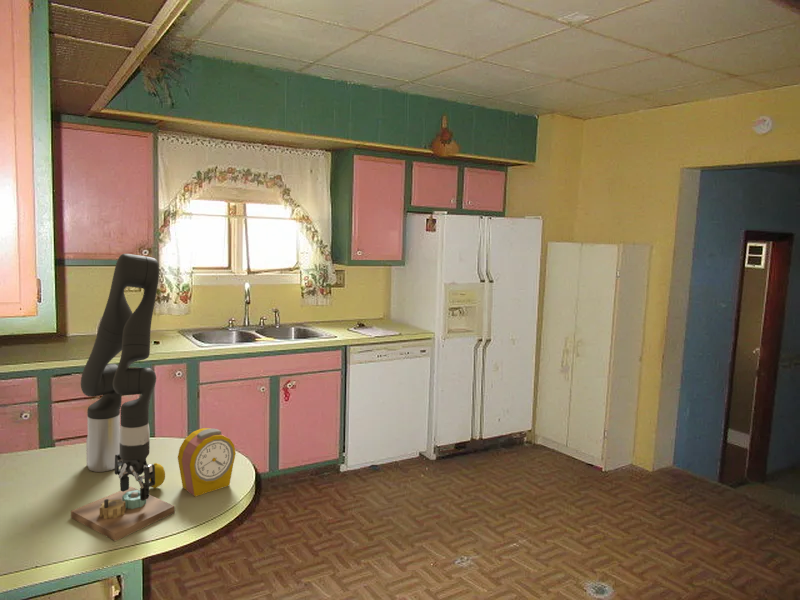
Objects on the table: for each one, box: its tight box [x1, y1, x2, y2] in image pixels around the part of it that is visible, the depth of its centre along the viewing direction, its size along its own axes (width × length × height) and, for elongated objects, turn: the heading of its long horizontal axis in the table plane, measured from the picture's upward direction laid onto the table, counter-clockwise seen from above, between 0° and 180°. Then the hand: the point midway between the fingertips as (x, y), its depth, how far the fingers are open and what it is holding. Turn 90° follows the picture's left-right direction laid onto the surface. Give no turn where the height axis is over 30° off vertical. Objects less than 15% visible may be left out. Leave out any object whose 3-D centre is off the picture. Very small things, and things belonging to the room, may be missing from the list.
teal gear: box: [122, 489, 146, 509], centre depth 164 cm, size 6×6×2 cm
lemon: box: [149, 462, 166, 489], centre depth 177 cm, size 6×6×8 cm
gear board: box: [70, 486, 176, 542], centre depth 161 cm, size 19×18×6 cm
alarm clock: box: [177, 427, 236, 497], centre depth 180 cm, size 15×8×18 cm, turn 137°
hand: (134, 494), depth 164 cm, fingers open, 8 cm apart
